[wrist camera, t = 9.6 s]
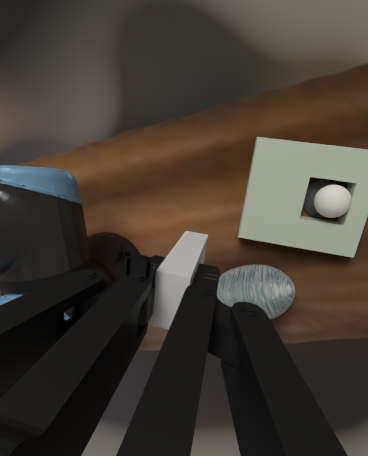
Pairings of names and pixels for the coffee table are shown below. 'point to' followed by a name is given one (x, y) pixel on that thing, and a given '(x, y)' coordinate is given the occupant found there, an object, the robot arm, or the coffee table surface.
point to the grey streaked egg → (257, 288)
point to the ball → (332, 201)
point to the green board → (303, 195)
